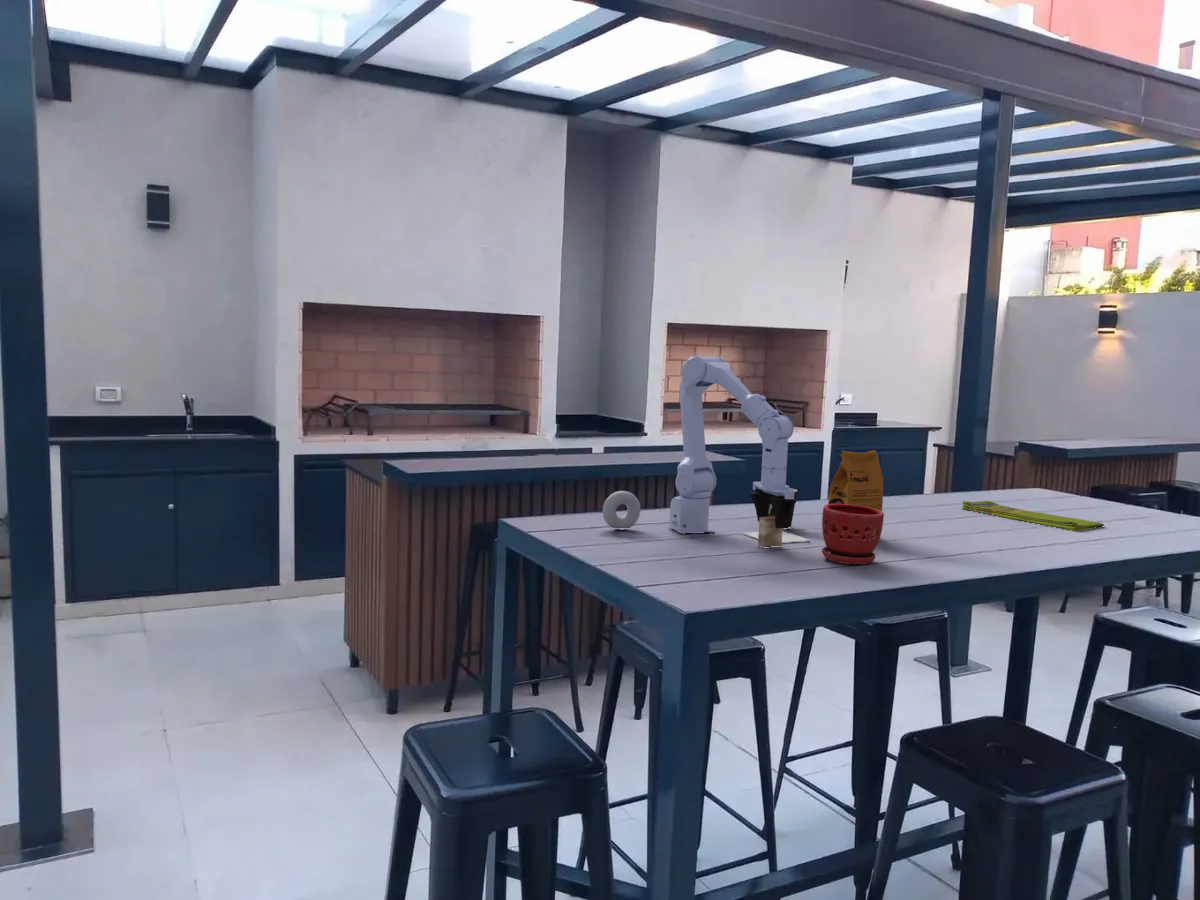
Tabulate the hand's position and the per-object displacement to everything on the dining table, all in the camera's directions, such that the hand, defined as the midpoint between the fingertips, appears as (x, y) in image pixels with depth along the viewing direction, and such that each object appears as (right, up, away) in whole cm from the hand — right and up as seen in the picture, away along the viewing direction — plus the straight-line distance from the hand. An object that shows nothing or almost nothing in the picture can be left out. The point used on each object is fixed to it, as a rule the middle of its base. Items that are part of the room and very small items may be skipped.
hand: (771, 524), depth 217 cm
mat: (+3, -4, +11) cm, 12 cm away
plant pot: (+16, -7, -11) cm, 20 cm away
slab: (0, -5, +1) cm, 5 cm away
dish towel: (+85, -3, +51) cm, 99 cm away
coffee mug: (+6, -3, +26) cm, 27 cm away
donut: (-35, -3, +14) cm, 38 cm away
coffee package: (+23, -5, +15) cm, 28 cm away
